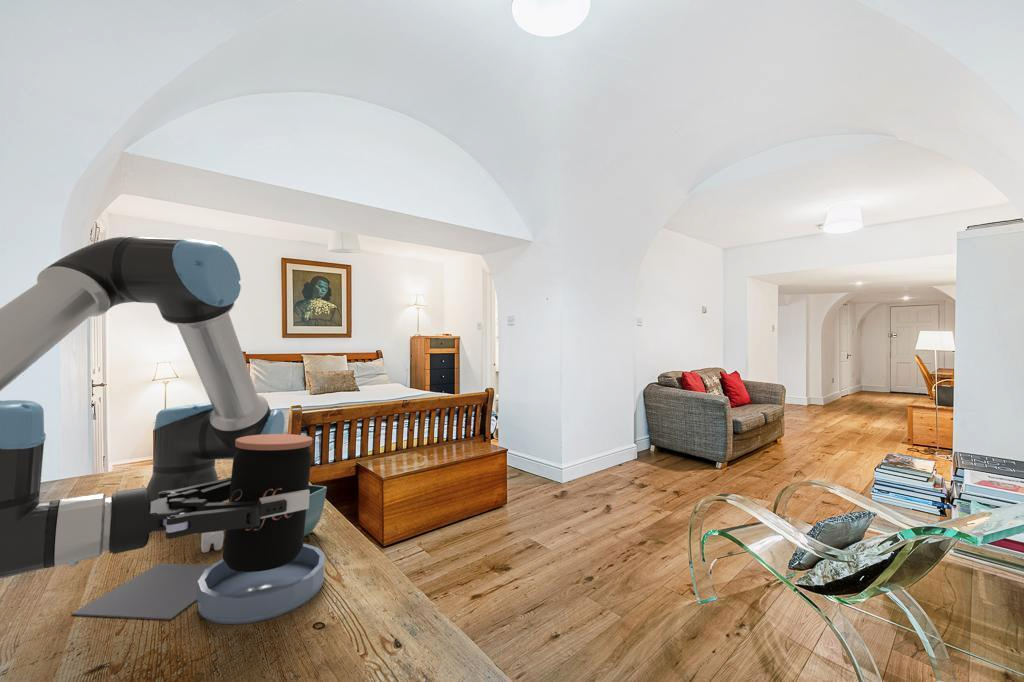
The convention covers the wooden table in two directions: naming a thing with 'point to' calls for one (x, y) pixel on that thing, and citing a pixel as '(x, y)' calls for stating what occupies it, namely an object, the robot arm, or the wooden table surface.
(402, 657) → the wooden table surface
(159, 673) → the wooden table surface
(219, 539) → the elephant figurine
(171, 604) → the mat
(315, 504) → the flower pot
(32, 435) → the robot arm
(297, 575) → the bowl
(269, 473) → the coffee jar
